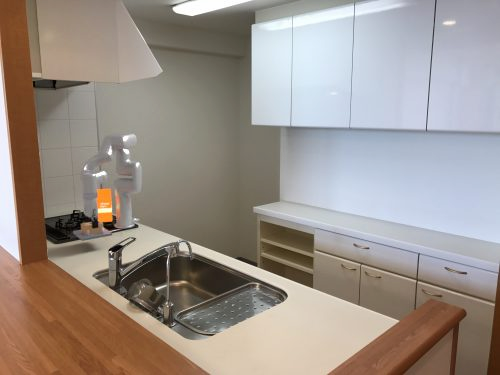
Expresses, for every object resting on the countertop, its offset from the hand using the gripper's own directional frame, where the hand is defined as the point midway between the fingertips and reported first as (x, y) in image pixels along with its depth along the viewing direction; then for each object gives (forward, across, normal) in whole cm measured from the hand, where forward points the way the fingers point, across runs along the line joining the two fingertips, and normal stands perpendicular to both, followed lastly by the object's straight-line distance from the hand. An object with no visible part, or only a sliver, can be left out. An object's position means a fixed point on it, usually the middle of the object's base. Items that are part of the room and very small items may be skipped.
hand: (92, 225), depth 225 cm
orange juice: (+7, -28, +17) cm, 33 cm away
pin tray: (+5, 0, 0) cm, 5 cm away
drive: (+4, 0, 0) cm, 4 cm away
